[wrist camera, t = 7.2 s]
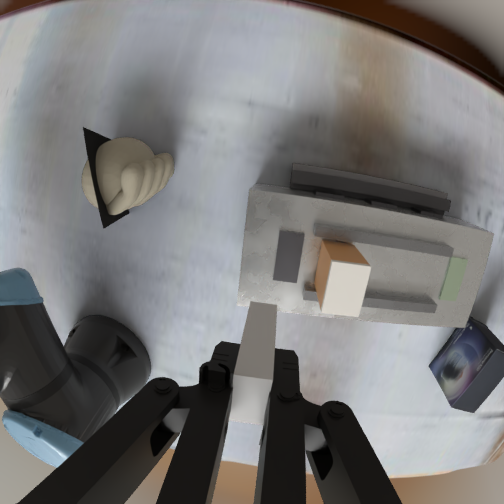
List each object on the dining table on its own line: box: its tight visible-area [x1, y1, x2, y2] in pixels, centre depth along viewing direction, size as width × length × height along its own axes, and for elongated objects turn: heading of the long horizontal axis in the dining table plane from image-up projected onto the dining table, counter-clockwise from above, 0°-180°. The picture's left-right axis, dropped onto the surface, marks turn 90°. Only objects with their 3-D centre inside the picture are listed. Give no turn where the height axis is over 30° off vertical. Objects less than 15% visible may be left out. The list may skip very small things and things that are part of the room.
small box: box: [429, 316, 504, 413], centre depth 36 cm, size 11×6×10 cm, turn 156°
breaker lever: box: [314, 240, 371, 317], centre depth 27 cm, size 3×4×6 cm
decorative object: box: [82, 127, 174, 228], centre depth 32 cm, size 13×10×10 cm
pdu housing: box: [237, 183, 494, 328], centre depth 33 cm, size 28×12×9 cm, turn 84°
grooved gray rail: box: [290, 163, 451, 216], centre depth 34 cm, size 20×3×3 cm, turn 84°
